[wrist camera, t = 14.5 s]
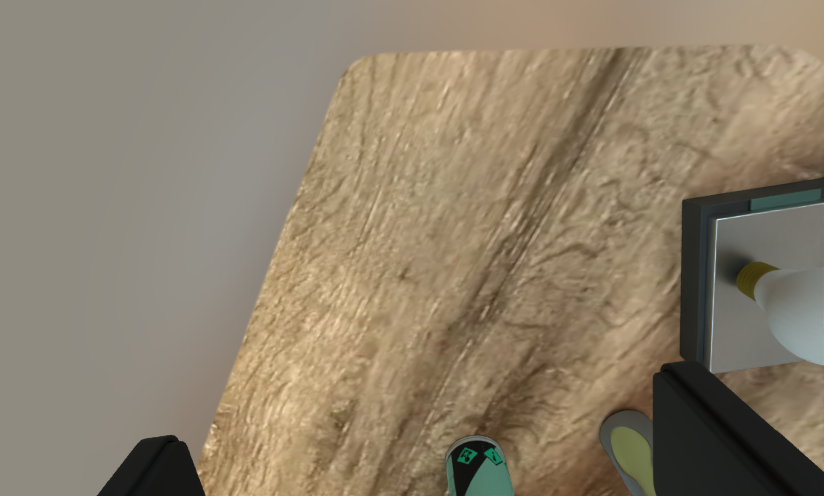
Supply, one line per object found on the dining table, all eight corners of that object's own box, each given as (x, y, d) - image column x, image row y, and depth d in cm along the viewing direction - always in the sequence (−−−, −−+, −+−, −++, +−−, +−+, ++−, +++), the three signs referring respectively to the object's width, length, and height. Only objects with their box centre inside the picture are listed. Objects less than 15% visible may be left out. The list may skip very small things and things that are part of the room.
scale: (682, 199, 37) (709, 209, 33) (837, 175, 36) (881, 183, 33) (679, 355, 41) (703, 378, 38) (819, 335, 41) (856, 356, 37)
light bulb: (803, 266, 35) (953, 329, 25) (743, 324, 36) (863, 404, 27) (750, 221, 34) (886, 269, 24) (690, 282, 35) (796, 350, 26)
